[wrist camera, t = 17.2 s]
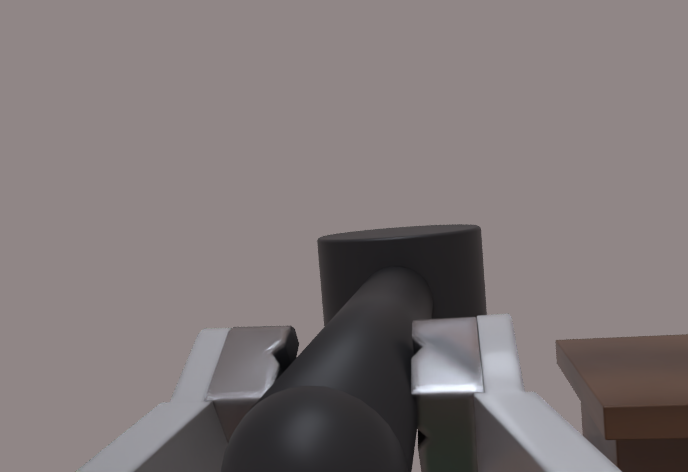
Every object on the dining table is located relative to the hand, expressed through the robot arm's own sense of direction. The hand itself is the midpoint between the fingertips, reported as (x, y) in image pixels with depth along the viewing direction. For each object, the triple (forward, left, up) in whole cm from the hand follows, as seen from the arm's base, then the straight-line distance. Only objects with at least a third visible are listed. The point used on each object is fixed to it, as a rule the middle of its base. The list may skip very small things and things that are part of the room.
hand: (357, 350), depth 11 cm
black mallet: (-3, +2, -1) cm, 4 cm away
